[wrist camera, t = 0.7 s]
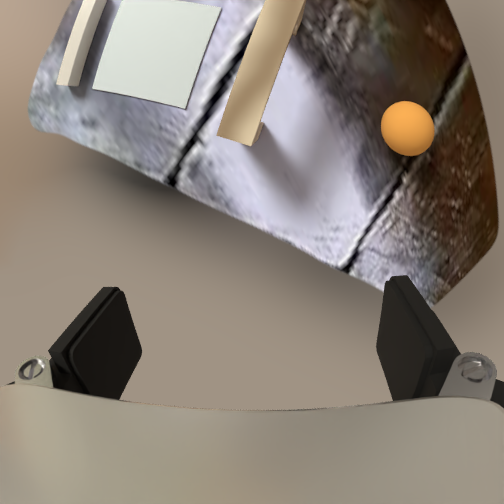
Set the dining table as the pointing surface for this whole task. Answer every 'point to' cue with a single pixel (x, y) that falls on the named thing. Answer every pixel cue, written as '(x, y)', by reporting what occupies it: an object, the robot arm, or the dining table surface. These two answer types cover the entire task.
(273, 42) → the bridge
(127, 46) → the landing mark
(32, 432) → the robot arm
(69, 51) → the wall
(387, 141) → the ball
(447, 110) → the dining table surface
